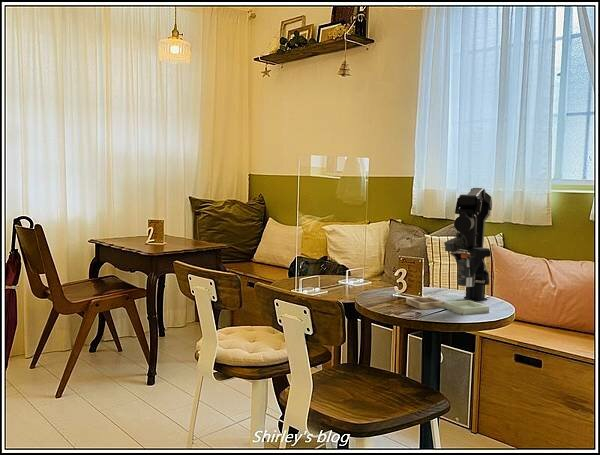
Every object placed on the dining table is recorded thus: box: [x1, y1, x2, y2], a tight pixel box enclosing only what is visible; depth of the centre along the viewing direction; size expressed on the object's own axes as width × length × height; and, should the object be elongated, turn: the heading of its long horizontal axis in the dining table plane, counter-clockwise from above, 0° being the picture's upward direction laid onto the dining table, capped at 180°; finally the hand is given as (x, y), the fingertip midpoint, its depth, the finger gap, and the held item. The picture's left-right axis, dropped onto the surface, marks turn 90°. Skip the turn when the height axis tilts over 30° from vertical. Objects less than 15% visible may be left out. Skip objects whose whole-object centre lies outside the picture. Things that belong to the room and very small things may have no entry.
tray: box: [443, 299, 490, 316], centre depth 206 cm, size 11×11×2 cm
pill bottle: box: [456, 253, 475, 288], centre depth 205 cm, size 6×6×11 cm
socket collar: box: [405, 296, 445, 310], centre depth 213 cm, size 10×10×2 cm
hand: (466, 274), depth 205 cm, fingers closed on pill bottle, 6 cm apart
